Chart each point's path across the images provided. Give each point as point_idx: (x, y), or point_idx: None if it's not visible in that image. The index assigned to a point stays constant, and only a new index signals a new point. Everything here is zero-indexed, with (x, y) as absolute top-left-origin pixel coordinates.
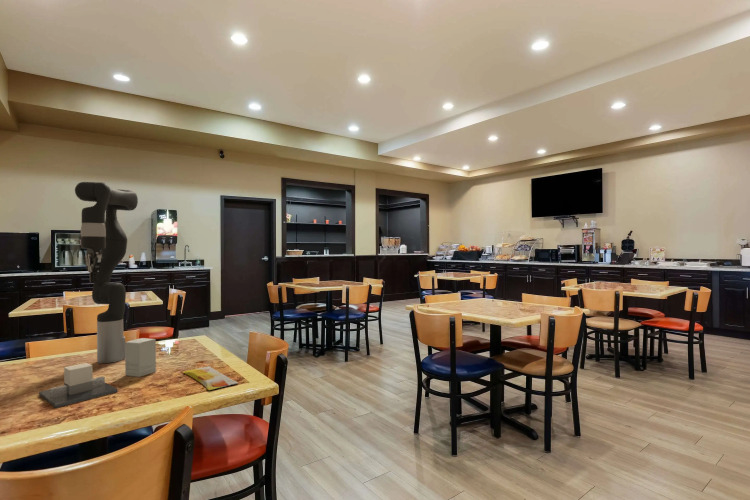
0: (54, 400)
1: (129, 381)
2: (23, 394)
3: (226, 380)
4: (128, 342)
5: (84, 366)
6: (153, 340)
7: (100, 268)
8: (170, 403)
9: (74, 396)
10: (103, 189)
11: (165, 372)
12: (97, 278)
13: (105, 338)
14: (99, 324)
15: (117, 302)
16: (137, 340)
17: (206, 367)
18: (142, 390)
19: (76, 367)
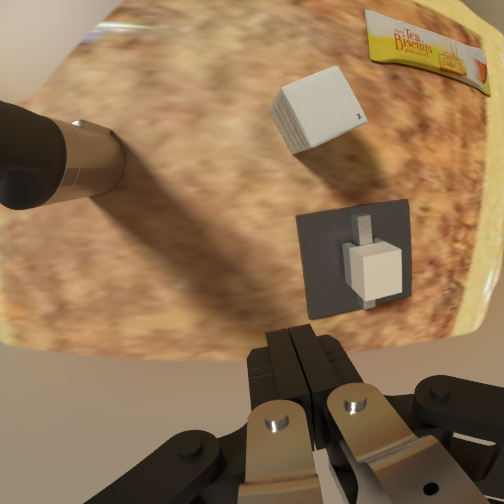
0: (388, 297)
1: (351, 160)
2: None
3: (476, 56)
4: (326, 140)
5: (394, 264)
6: (341, 73)
7: (473, 385)
8: (497, 157)
9: None
10: None
11: None
12: (316, 342)
13: (91, 178)
14: (53, 200)
15: (19, 128)
16: (323, 112)
17: (374, 18)
18: (426, 161)
19: (390, 279)
